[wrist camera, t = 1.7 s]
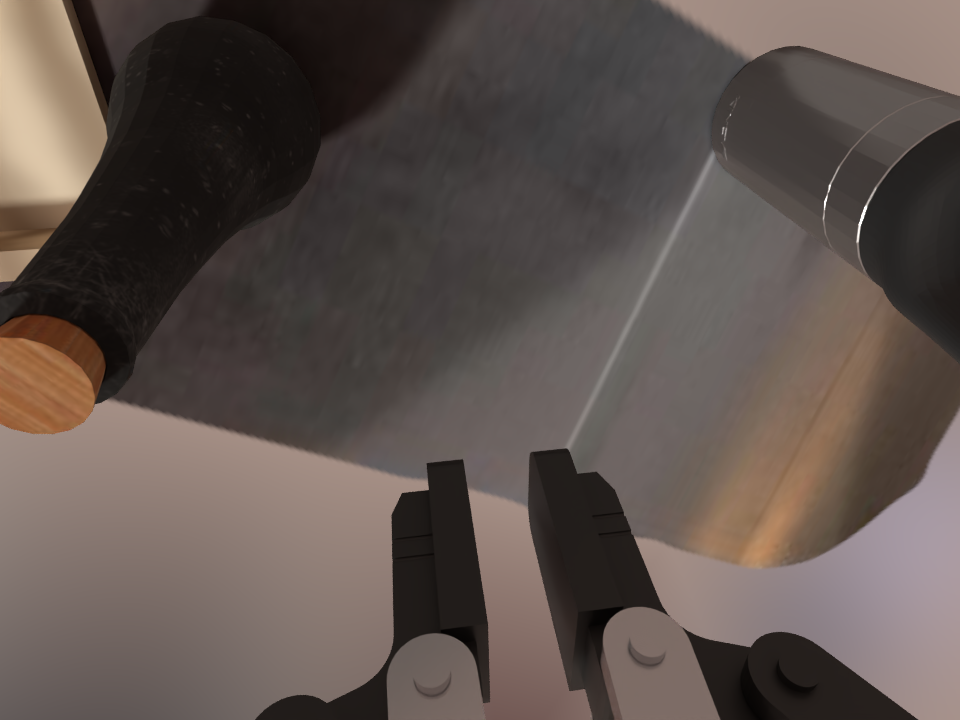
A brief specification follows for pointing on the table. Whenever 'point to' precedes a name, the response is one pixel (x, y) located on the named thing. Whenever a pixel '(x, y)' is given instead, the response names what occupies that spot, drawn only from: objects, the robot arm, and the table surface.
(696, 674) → the robot arm
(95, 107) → the trough
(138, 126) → the bottle
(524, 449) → the table surface
